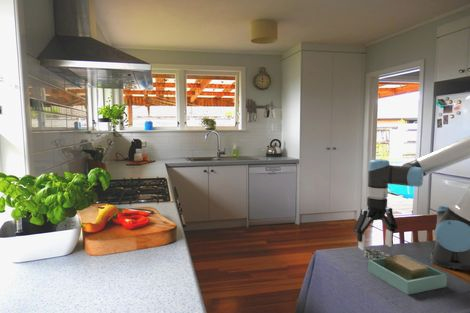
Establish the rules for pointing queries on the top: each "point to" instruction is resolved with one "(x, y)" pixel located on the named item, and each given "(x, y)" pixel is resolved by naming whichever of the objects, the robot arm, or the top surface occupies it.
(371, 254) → the egg carton
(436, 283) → the tote
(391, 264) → the tan cardboard block
